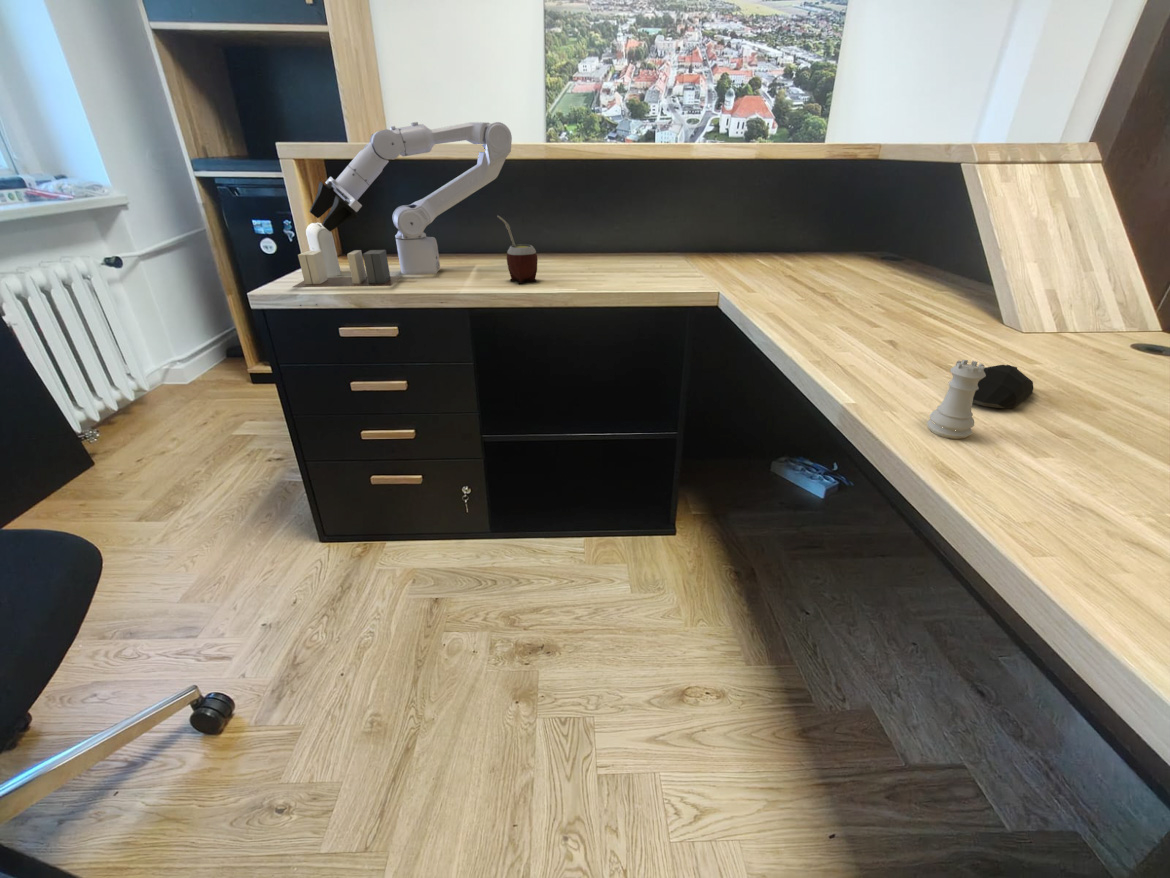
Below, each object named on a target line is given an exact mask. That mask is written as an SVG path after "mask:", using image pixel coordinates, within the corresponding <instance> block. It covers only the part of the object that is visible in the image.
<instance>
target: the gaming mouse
mask: <svg viewBox="0 0 1170 878" xmlns="http://www.w3.org/2000/svg"><path fill="white" fill-rule="evenodd" d="M984 372H985V374H986V376H985V377H984V378H982V379H981V380H980V381H979V382H978V388H979V389H978V390H976V391H975V394H974V397H973V402H972V404H975V405H979V406H982V407H988V408H996V409H1013V408H1015V407H1016V406H1019V405H1020V404H1021V403H1022V402H1023V401H1024V400H1026V399H1028V398H1029V397H1030V396H1031V395H1032V394H1033V391H1034V382H1033V380H1032V379H1030V378H1029V377H1028V376H1027V375H1025V374H1024V373H1023V372H1022V371H1021V370H1019V369H1018V367H1017V366H1014V365H1010V364H998V365H991V366H986V367H985V366H984Z"/></svg>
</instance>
